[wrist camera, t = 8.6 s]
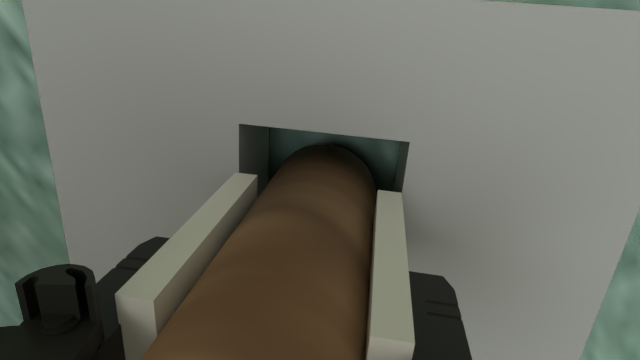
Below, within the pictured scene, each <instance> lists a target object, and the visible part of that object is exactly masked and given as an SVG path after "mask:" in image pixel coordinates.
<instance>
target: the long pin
mask: <svg viewBox="0 0 640 360" xmlns="http://www.w3.org/2000/svg"><path fill="white" fill-rule="evenodd" d="M375 201H376V189H375V184H374V180H373V177H372V175H371V173H370V171H369V169H368V168H367V167H366V165H365V164H364V163H363V162H362V161H361V160H360V159H359V158H358V157H357V156H356V155H354V154H353V153H351V152H349V151H348V150H345V149H343V148H341V147H337V146H333V145H327V144H318V145H311V146H307V147H304V148H301V149H299V150H297V151H296V152H294V153H293V154H291V155H290V156H289V157H288V158H287V159H286V160H285V161H284V162H283V164H282V165H281V166H280V168H279V169H278V170H277V172H276V173H275V174H274V176H273V177H272V179H271V180H270V181H269V183H268V184H267V186H266V187H265V188H264V190H263V191H262V192H261V194H260V195H259V197H258V198H257V199H256V201H255V202H254V203H253V205H252V206H251V208H250V209H249V210H248V212H247V213H246V215H245V216H244V217H243V219H242V220H241V221H240V223H239V224H238V226H237V227H236V228H235V230H234V231H233V233H232V234H231V235H230V237H229V238H228V239H227V241H226V242H225V244H224V245H223V246H222V248H221V249H220V250H219V252H218V253H217V255H216V256H215V257H214V259H213V260H212V262H211V263H210V264H209V266H208V267H207V268H206V270H205V271H204V273H203V274H202V275H201V277H200V278H199V279H198V281H197V282H196V284H195V285H194V286H193V288H192V289H191V291H190V292H189V293H188V295H187V296H186V297H185V299H184V300H183V302H182V303H181V304H180V306H179V307H178V309H177V310H176V311H175V313H174V314H173V315H172V317H171V318H170V320H169V321H168V322H167V324H166V325H165V326H164V328H163V329H162V331H161V332H160V333H159V335H158V336H157V338H156V339H155V340H154V342H153V343H152V344H151V346H150V347H149V349H148V350H147V351H146V353H145V354H144V355H143V357H142V358H141V360H365V350H366V334H367V318H368V302H369V287H370V271H371V255H372V239H373V224H374V214H375Z"/></svg>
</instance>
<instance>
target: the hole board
mask: <svg viewBox="0 0 640 360" xmlns="http://www.w3.org/2000/svg"><path fill="white" fill-rule="evenodd" d="M22 5H23V11H24V16H25V21H26V27H27V32H28V38H29V43H30V49H31V54H32V60H33V65H34V71H35V76H36V81H37V87H38V92H39V98H40V103H41V109H42V114H43V120H44V125H45V131H46V136H47V141H48V147H49V152H50V158H51V163H52V169H53V174H54V180H55V185H56V191H57V196H58V202H59V207H60V212H61V218H62V223H63V229H64V234H65V240H66V245H67V251H68V256H69V262H70V264H76V265H83V266H86V267H87V268H89V269H91V270H92V271H93V273H94V276H95V280H96V283H97V282H98V281H99V280H100V279H101V278H103V277H104V276H105V275H106V274H107V273H108V272H109V271H110V270H111V269H112V268H115V267H116V265H117V264H118V263H119V262H120V261H121V260H122V259H123V258H124V259H125V258H126V256H127V255H128V254H129V253H130V252H131V251H132V250H133V249H134V248H136V247H137V246H138V245H139V244H141V243H143V242H145V241H148V240H150V239H152V238H154V237H156V236H158V237H165V238H171V237H172V236H173V235H174V234H175V233H176V232H177V231H178V230H179V229H180V228H181V227H182V226H183V225H184V224H185V223H186V222H187V221H188V220H189V219H190V218H191V217H192V216H193V215H194V214H195V213H196V212H197V211H198V210H199V209H200V208H201V207H202V206H203V205H204V204H205V203H206V202H207V200H208V199H209V198H210V197H211V196H212V195H213V194H214V193H215V192H216V191H217V190H218V189H219V188H220V187H221V186H222V185H223V184H224V183H225V182H226V181H227V180H228V179H229V178H230V177H231V176H232V175H233V174H234V173H235V172H236V173H244V174H253V175H258V176H257V198H258V197H259V195H260V194H261V192H262V191H263V190H264V188H265V187H266V186H267V184H268V163H269V127H275V128H284V129H294V130H303V131H312V132H321V133H331V134H340V135H349V136H358V137H368V138H377V139H386V140H395V141H401V142H400V149H399V156H398V162H397V169H396V176H395V183H394V189H393V192H400V193H402V201H403V212H404V224H405V235H406V246H407V258H408V269H409V271H412V272H419V273H426V274H433V275H440V276H443V277H444V278H445V279H446V280H447V281H448V283H449V284H450V285H451V286H452V287H453V288H454V290H455V293H456V297H457V301H458V308H459V309H460V313H461V317H462V318H461V320H462V321H463V325H464V329H465V333H466V337H467V341H468V345H469V349H470V353H471V356H472V360H580V357H581V355H582V352H583V349H584V347H585V344H586V342H587V339H588V337H589V334H590V332H591V329H592V327H593V324H594V322H595V319H596V317H597V314H598V312H599V309H600V307H601V304H602V302H603V299H604V297H605V294H606V292H607V289H608V287H609V284H610V282H611V279H612V277H613V274H614V272H615V269H616V267H617V264H618V262H619V259H620V257H621V254H622V252H623V249H624V247H625V244H626V242H627V239H628V237H629V234H630V232H631V229H632V227H633V224H634V222H635V219H636V217H637V214H638V212H639V209H640V11H631V10H617V9H602V8H588V7H573V6H559V5H544V4H530V3H515V2H501V1H486V0H22Z"/></svg>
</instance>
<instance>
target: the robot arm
mask: <svg viewBox="0 0 640 360" xmlns="http://www.w3.org/2000/svg"><path fill="white" fill-rule="evenodd" d="M257 176H258V175H253V174H244V173H236V172H235V173H234V174H233V175H232V176H231V177H230V178H229V179H228V180H227V181H226V182H225V183H224V184H223V185H222V186H221V187H220V188H219V189H218V190H217V191H216V192H215V193H214V194H213V195H212V196H211V197H210V198H209V199H208V200H207V202H206V203H205V204H204V205H203V206H202V207H201V208H200V209H199V210H198V211H197V212H196V213H195V214H194V215H193V216H192V217H191V218H190V219H189V220H188V221H187V222H186V223H185V224H184V225H183V226H182V227H181V228H180V229H179V230H178V231H177V232H176V233H175V234H174V235H173V236H172V237H171V238H165V237H158V236H156V237H154V238H152V239H150V240H148V241H145V242H143V243H141V244H139V245H138V246H137V247H136V248H134V249H133V250H132V251H131V252H130V253H129V254H128V255H127V256H126V258H125V259H124V258H123V259H122V260H121V261H120V262H119V263H118V264H117V265H116V267H115V268H112V269H111V270H110V271H109V272H108V273H107V274H106V275H105V276H104V277H103V278H101V279H100V280H99V281H98V282H97V283H96V280H95V276H94V273H93V271H92V270H91V269H89V268H87V267H86V266H83V265H76V264H63V265H55V266H51V267H47V268H43V269H40V270H37V271H35V272H33V273H31V274H28V275H26V276H25V277H23V278H22V279H20V280H19V281H18V282H16V283H15V287H16V291H17V295H18V299H19V303H20V307H21V311H22V315H23V319H24V321H23V322H22V323H21V324H20V325H19V326H7V327H0V360H141V358H142V357H143V355H144V354H145V353H146V351H147V350H148V349H149V347H150V346H151V344H152V343H153V342H154V340H155V339H156V338H157V336H158V335H159V333H160V332H161V331H162V329H163V328H164V326H165V325H166V324H167V322H168V321H169V320H170V318H171V317H172V315H173V314H174V313H175V311H176V310H177V309H178V307H179V306H180V304H181V303H182V302H183V300H184V299H185V297H186V296H187V295H188V293H189V292H190V291H191V289H192V288H193V286H194V285H195V284H196V282H197V281H198V279H199V278H200V277H201V275H202V274H203V273H204V271H205V270H206V268H207V267H208V266H209V264H210V263H211V262H212V260H213V259H214V257H215V256H216V255H217V253H218V252H219V250H220V249H221V248H222V246H223V245H224V244H225V242H226V241H227V239H228V238H229V237H230V235H231V234H232V233H233V231H234V230H235V228H236V227H237V226H238V224H239V223H240V221H241V220H242V219H243V217H244V216H245V215H246V213H247V212H248V210H249V209H250V208H251V206H252V205H253V203H254V202H255V201H256V199H257ZM461 318H462V317H461V313H460V309H459V308H458V301H457V297H456V293H455V290H454V288H453V287H452V286H451V285H450V284H449V283H448V281H447V280H446V279H445V278H444V277H443V276H440V275H433V274H426V273H419V272H412V271H409V269H408V258H407V246H406V235H405V224H404V212H403V201H402V193H400V192H392V191H383V190H378V192H377V199H376V207H375V214H374V224H373V239H372V255H371V271H370V287H369V302H368V318H367V334H366V350H365V360H472V356H471V353H470V349H469V345H468V341H467V337H466V333H465V329H464V325H463V321H462V320H461Z"/></svg>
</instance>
